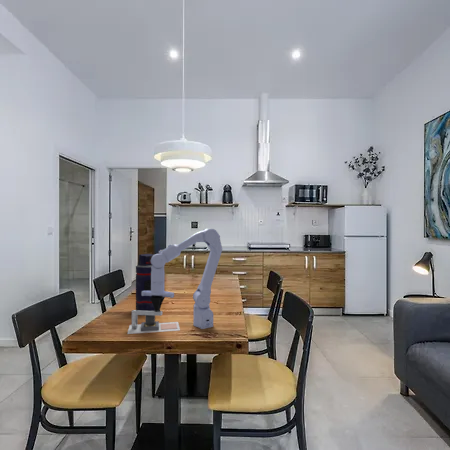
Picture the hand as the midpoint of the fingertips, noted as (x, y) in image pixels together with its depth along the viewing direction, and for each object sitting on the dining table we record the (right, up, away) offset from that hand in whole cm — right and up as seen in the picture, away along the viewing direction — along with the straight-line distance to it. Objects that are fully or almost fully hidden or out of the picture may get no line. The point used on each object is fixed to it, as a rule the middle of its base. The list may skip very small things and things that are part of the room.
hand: (157, 313), depth 137 cm
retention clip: (-4, -6, -2) cm, 8 cm away
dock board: (-2, -7, +1) cm, 7 cm away
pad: (+5, -7, +2) cm, 8 cm away
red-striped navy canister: (-12, -8, +30) cm, 33 cm away
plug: (-3, -6, 0) cm, 7 cm away
